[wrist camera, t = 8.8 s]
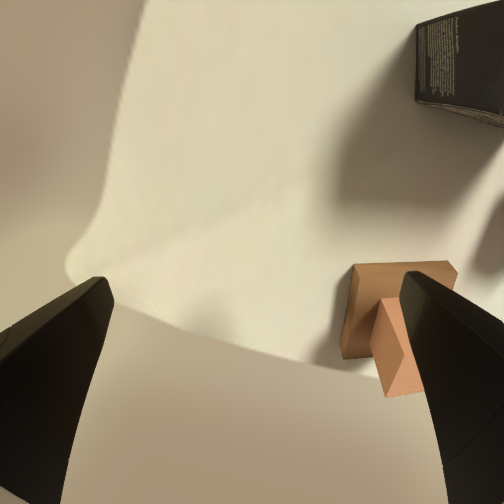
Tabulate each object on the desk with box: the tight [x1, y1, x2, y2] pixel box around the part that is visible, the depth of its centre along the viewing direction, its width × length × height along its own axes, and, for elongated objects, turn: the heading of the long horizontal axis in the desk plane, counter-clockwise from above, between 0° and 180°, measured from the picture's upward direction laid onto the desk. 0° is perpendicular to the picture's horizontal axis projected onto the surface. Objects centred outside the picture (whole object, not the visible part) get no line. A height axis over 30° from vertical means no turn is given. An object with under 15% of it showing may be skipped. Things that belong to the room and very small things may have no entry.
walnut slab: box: [340, 261, 458, 360], centre depth 24 cm, size 9×9×2 cm
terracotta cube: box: [369, 297, 424, 397], centre depth 21 cm, size 5×5×6 cm
